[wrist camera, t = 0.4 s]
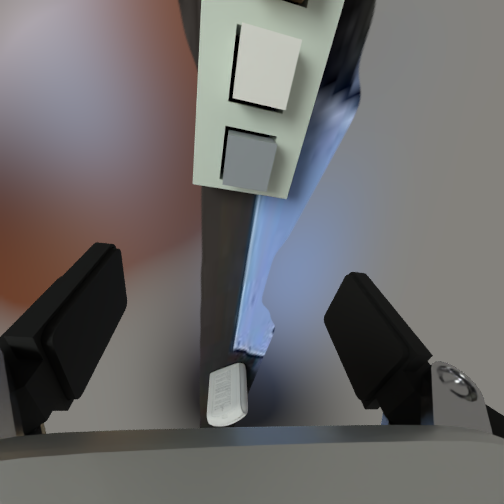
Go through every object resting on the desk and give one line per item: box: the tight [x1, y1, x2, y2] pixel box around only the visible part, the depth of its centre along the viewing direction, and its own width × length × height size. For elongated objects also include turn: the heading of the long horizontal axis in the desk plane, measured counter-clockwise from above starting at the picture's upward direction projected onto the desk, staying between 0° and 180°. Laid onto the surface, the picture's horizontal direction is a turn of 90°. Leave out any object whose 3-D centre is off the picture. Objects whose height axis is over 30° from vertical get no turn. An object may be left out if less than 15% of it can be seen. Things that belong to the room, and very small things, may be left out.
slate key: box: [222, 130, 277, 192], centre depth 25 cm, size 5×5×4 cm
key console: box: [193, 0, 345, 199], centre depth 24 cm, size 24×12×4 cm, turn 169°
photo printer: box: [207, 363, 248, 426], centre depth 56 cm, size 10×4×12 cm, turn 119°
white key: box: [233, 22, 302, 110], centre depth 21 cm, size 5×5×4 cm
